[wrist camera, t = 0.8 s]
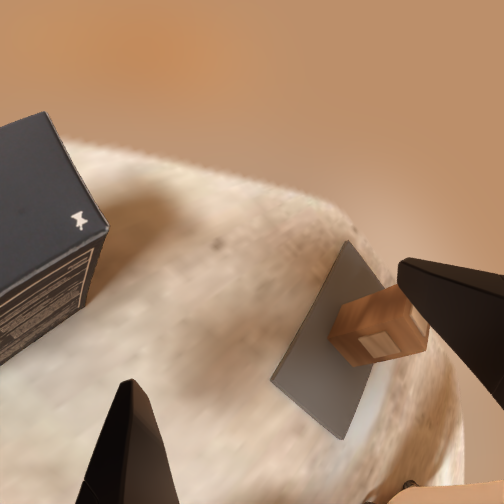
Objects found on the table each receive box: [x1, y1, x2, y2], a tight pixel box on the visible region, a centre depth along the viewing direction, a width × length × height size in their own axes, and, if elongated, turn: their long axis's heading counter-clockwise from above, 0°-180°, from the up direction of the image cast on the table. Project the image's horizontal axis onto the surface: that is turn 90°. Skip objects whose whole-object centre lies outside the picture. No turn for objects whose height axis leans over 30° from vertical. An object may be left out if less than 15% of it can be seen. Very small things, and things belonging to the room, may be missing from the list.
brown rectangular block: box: [327, 284, 430, 367], centre depth 26 cm, size 5×5×8 cm
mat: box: [270, 240, 385, 440], centre depth 29 cm, size 20×10×1 cm, turn 144°
